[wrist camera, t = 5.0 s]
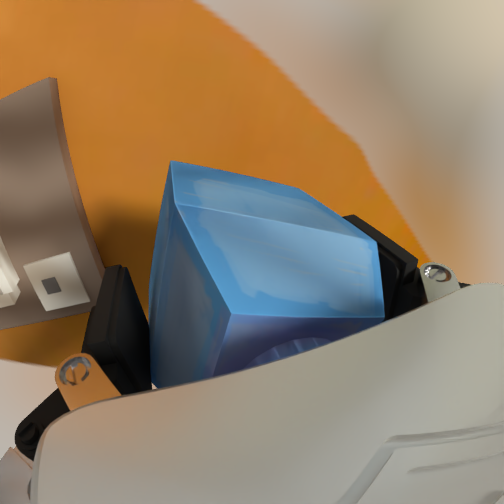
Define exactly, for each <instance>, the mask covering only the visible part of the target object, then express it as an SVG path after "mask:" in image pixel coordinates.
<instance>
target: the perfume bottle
mask: <svg viewBox="0 0 504 504" xmlns="http://www.w3.org/2000/svg"><path fill="white" fill-rule="evenodd" d="M384 317H385V315H384V302H383V291H382V281H381V272H380V264H379V256H378V249H377V242H376V241H375V240H373V239H372V238H371V237H369V236H368V235H366V234H365V233H364V232H362V231H361V230H359V229H358V228H357V227H355V226H354V225H352V224H351V223H350V222H348V221H347V220H345V219H344V218H342V217H341V216H339V215H338V214H337V213H335V212H334V211H332V210H331V209H329V208H328V207H326V206H325V205H323V204H322V203H320V202H319V201H317V200H316V199H314V198H313V197H311V196H310V195H308V194H307V193H305V192H303V191H302V190H300V189H299V188H295V187H291V186H287V185H284V184H280V183H275V182H271V181H267V180H263V179H259V178H254V177H250V176H246V175H241V174H237V173H232V172H228V171H223V170H218V169H213V168H208V167H203V166H198V165H193V164H188V163H182V162H177V161H170V166H169V170H168V175H167V180H166V184H165V189H164V194H163V199H162V205H161V210H160V216H159V221H158V227H157V233H156V239H155V246H154V252H153V259H152V266H151V274H150V282H149V341H150V372H151V381H152V383H153V384H154V385H155V386H156V387H157V388H163V387H169V386H174V385H179V384H183V383H188V382H193V381H197V380H202V379H206V378H210V377H215V376H219V375H223V374H227V373H231V372H235V371H239V370H242V369H246V368H250V367H253V366H257V365H260V364H264V363H267V362H271V361H274V360H277V359H281V358H284V357H287V356H291V355H294V354H297V353H300V352H303V351H306V350H309V349H312V348H315V347H318V346H321V345H324V344H327V343H330V342H333V341H335V340H338V339H341V338H344V337H346V336H349V335H352V334H354V333H357V332H360V331H362V330H365V329H367V328H370V327H373V326H375V325H378V324H380V323H382V321H383V319H384Z"/></svg>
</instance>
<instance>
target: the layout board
mask: <svg viewBox="0 0 504 504" xmlns="http://www.w3.org/2000/svg"><path fill="white" fill-rule="evenodd" d="M104 272H105V268H104V265H103V263H102V260H101V257H100V255H99V252H98V249H97V246H96V244H95V241H94V238H93V235H92V232H91V229H90V226H89V223H88V220H87V217H86V213H85V210H84V207H83V203H82V200H81V197H80V193H79V189H78V186H77V182H76V178H75V174H74V170H73V166H72V162H71V158H70V154H69V149H68V145H67V140H66V135H65V130H64V124H63V119H62V113H61V107H60V100H59V93H58V85H57V79H56V78H50V77H48V78H46V79H43V80H41V81H39V82H36V83H34V84H32V85H29V86H27V87H25V88H23V89H21V90H19V91H17V92H15V93H13V94H10V95H9V96H7V97H5V98H3V99H1V100H0V330H2V329H7V328H12V327H18V326H23V325H28V324H33V323H38V322H43V321H47V320H52V319H57V318H62V317H67V316H71V315H76V314H81V313H86V312H90V311H91V308H92V306H94V305H96V302H97V298H98V294H99V290H100V287H101V283H102V279H103V276H104Z"/></svg>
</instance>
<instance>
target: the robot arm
mask: <svg viewBox="0 0 504 504" xmlns="http://www.w3.org/2000/svg"><path fill="white" fill-rule="evenodd" d="M342 218H344V219H345V220H347V221H348V222H350V223H351V224H352V225H354V226H355V227H357V228H358V229H359V230H361V231H362V232H364V233H365V234H366V235H368V236H369V237H371V238H372V239H373V240H375V241H376V242H377V249H378V256H379V264H380V272H381V281H382V291H383V302H384V315H385V317H384V319H383V321H382V323H380V324H378V325H375V326H373V327H370V328H367V329H365V330H362V331H360V332H357V333H354V334H352V335H349V336H346V337H344V338H341V339H338V340H335V341H333V342H330V343H327V344H324V345H321V346H318V347H315V348H312V349H309V350H306V351H303V352H300V353H297V354H294V355H291V356H287V357H284V358H281V359H277V360H274V361H271V362H267V363H264V364H260V365H257V366H253V367H250V368H246V369H242V370H239V371H235V372H231V373H227V374H223V375H219V376H215V377H210V378H206V379H202V380H197V381H193V382H188V383H183V384H179V385H174V386H169V387H163V388H158V389H153V390H152V381H151V372H150V341H149V325H148V322H147V319H146V317H145V314H144V312H143V309H142V307H141V304H140V301H139V299H138V296H137V293H136V291H135V288H134V285H133V282H132V280H131V277H130V274H129V271H128V269H127V267H124V268H122V266H121V265H115V266H111V267H107V268H106V269H105V272H104V276H103V279H102V283H101V287H100V290H99V294H98V298H97V302H96V305H94V306H92V308H91V311H90V315H89V319H88V324H87V328H86V332H85V337H84V341H83V346H82V351H81V353H77V354H73V355H71V356H69V357H67V358H66V359H64V360H63V361H62V362H61V363H60V365H59V366H58V368H57V370H56V372H55V381H56V384H57V386H58V388H57V389H56V390H55V391H54V392H53V393H52V394H51V395H50V396H49V397H47V398H46V399H45V400H44V401H43V402H42V403H41V404H40V405H39V406H38V407H37V408H36V409H35V410H33V411H32V412H31V413H30V414H29V415H28V416H27V417H26V418H25V419H24V420H23V421H22V422H21V423H20V424H19V426H18V427H17V430H16V433H15V444H16V447H15V448H14V449H13V448H11V447H10V448H9V449H8V451H7V452H6V453H5V455H4V456H3V458H2V459H1V460H0V504H504V285H502V284H497V283H479V284H474V285H470V284H465V283H460V282H458V281H457V278H456V276H455V274H454V272H453V271H452V270H451V269H450V268H449V267H447V266H445V265H443V264H439V263H434V262H432V263H425V264H423V265H422V266H421V268H420V269H419V268H417V263H418V259H417V258H416V257H414V256H413V255H412V254H410V253H409V252H408V251H406V250H405V249H403V248H402V247H401V246H399V245H398V244H396V243H395V242H394V241H392V240H391V239H389V238H388V237H387V236H385V235H384V234H382V233H381V232H379V231H378V230H376V229H375V228H373V227H372V226H371V225H369V224H368V223H366V222H365V221H363V220H362V219H360V218H359V217H357V216H356V215H349V216H344V217H342Z"/></svg>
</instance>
